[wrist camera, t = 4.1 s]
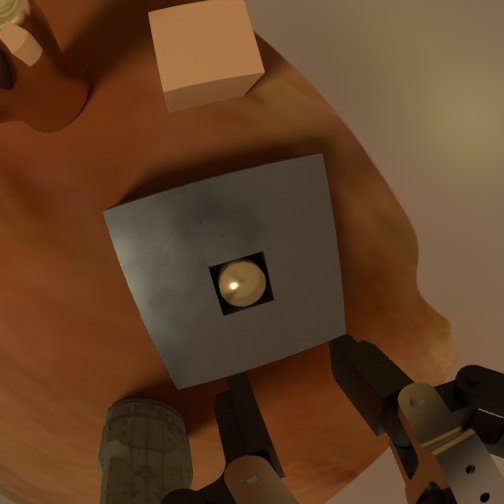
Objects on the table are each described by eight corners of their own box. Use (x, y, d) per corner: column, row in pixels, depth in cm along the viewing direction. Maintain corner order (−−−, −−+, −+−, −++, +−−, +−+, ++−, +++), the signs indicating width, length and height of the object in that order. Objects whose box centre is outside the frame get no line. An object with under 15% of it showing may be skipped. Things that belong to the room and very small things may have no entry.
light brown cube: (155, 49, 17) (148, 12, 11) (226, 35, 17) (242, -3, 12) (168, 113, 18) (163, 92, 13) (242, 96, 19) (264, 72, 14)
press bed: (116, 203, 19) (102, 211, 16) (298, 154, 21) (322, 153, 18) (176, 359, 24) (177, 389, 20) (325, 311, 26) (346, 333, 22)
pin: (208, 254, 21) (214, 270, 18) (248, 243, 22) (260, 257, 18) (219, 290, 22) (226, 311, 19) (256, 279, 23) (269, 298, 19)
